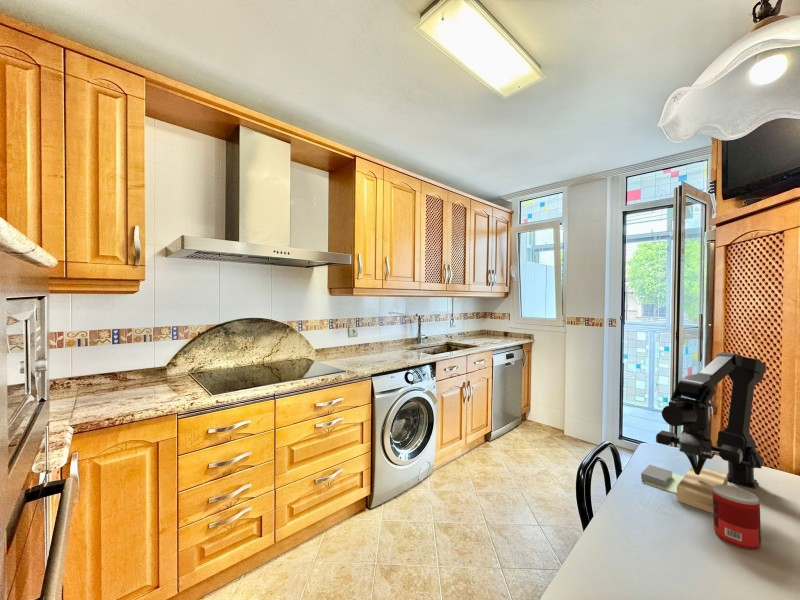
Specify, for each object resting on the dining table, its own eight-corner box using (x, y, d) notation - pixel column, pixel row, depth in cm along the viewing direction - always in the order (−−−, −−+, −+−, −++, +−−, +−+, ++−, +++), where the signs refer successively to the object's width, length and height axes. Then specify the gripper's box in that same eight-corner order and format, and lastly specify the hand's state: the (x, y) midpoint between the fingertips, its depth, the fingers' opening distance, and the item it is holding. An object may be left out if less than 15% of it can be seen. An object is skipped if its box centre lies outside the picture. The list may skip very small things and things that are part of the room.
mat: (657, 469, 113) (657, 468, 113) (691, 479, 106) (691, 478, 106) (644, 482, 104) (643, 482, 104) (680, 495, 97) (680, 494, 97)
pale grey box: (672, 471, 107) (672, 477, 107) (649, 464, 111) (649, 470, 111) (664, 480, 101) (664, 487, 101) (641, 473, 106) (641, 479, 106)
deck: (693, 477, 107) (692, 465, 107) (727, 488, 101) (727, 475, 101) (677, 500, 94) (676, 486, 95) (715, 513, 88) (714, 498, 88)
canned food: (771, 553, 74) (769, 503, 74) (729, 548, 76) (728, 499, 76) (743, 530, 82) (741, 485, 82) (705, 526, 83) (704, 482, 84)
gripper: (649, 419, 101) (651, 470, 101) (735, 438, 87) (737, 498, 86) (660, 412, 108) (662, 460, 108) (741, 428, 94) (743, 483, 93)
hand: (697, 474), depth 99 cm, fingers closed
